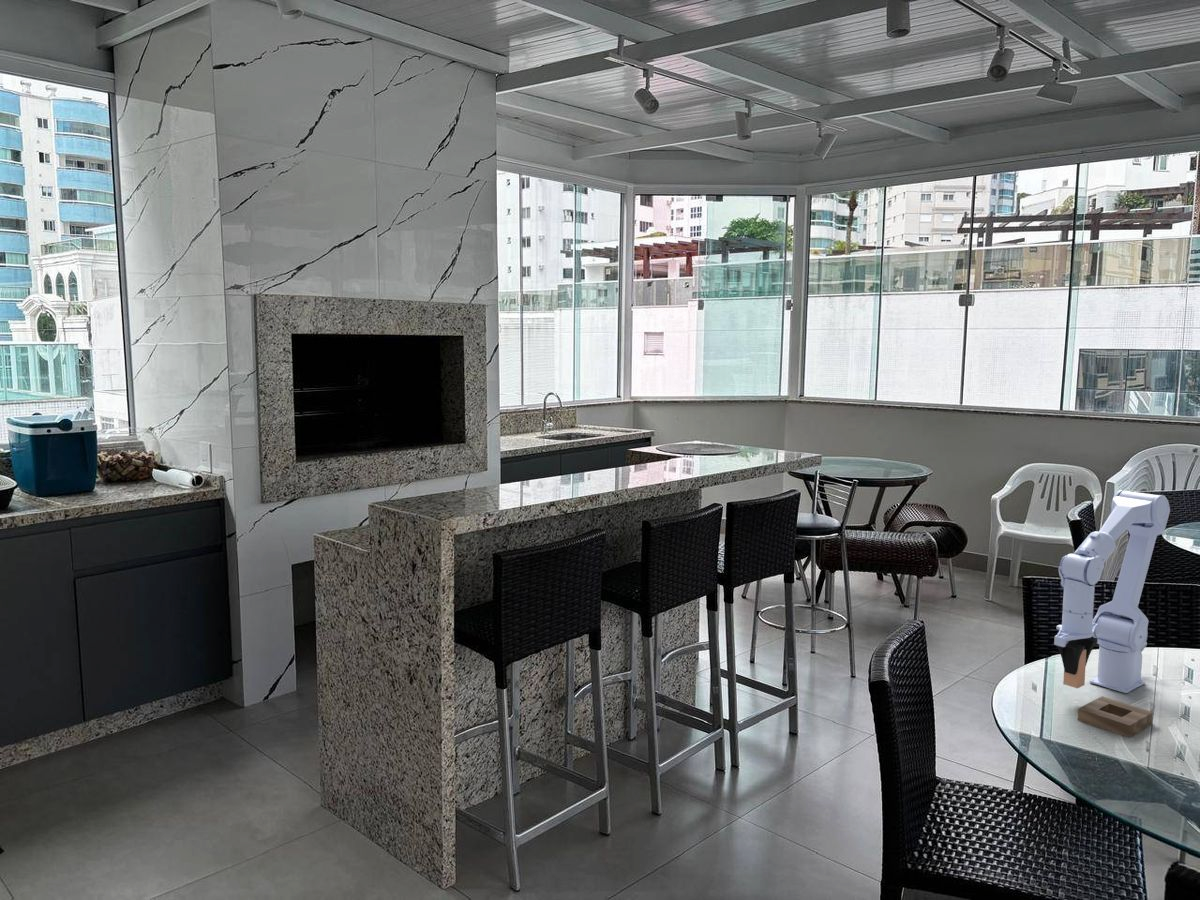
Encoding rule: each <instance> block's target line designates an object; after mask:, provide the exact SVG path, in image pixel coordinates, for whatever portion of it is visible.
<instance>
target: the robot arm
mask: <svg viewBox="0 0 1200 900" xmlns="http://www.w3.org/2000/svg"><path fill="white" fill-rule="evenodd" d="M1110 505H1111V507H1110V508H1111V512H1110V514H1109V516H1108V517H1107V519H1106V520H1105V522H1104V523H1103V525H1102V526H1101V527H1100V529H1099V531H1092V532H1090V533H1089V534H1088V535H1087V537H1086V538H1085V539H1084V540H1083V541H1082V543H1081V544H1080V545H1079V546H1078V547H1077V549H1076V550H1075V551H1074V552H1073V553H1068V554H1066V555H1064V556H1063V557H1062V558H1061V560H1060V561H1059V562H1060V563H1059V567H1058V574H1059V578H1060V582H1061V583H1060V585H1061V587H1062V588H1063V597H1062V598H1063V599H1062V614H1061V615H1062V617H1061V618H1062V619H1061V620H1062V621H1061V624H1058V625H1056V630H1057V631H1058V632H1057V634H1056V635H1054V642H1053V644H1054V645H1055V646H1056V648H1057V649H1058V652H1059V654H1060V656H1061V661H1062V665H1063V669H1064V670H1065V672H1066V673H1070V674H1073V675H1075V674H1076V672H1077V669H1078V664H1079V659H1080V656H1081V653H1082V651H1083V650H1084V649H1086V665H1087V663H1088V661H1089V659H1090V655H1091V653H1092V651H1093V649H1094V648H1095V646H1096V645H1099V648H1098V649H1099V650H1098V664H1097V676H1096V677H1093V678H1092V679H1089V683H1090V684H1094V685H1098V686H1101V687H1103V688H1107V689H1110V690H1113V691H1117V692H1120V693H1123V694H1128V693H1130V692H1131V691H1134V690H1135V689H1137V688H1139V687H1141V686H1142V685H1144V684H1145V683H1146V681H1145V680H1142V665H1143V654H1142V652H1141V651H1140V649H1141V648H1142V647H1143V646H1144V645H1145V643H1146V642H1147V640H1148V626H1149V619H1148V618H1147V616H1146V615H1145V614H1144V612H1142V610H1141V609H1140V608H1139V604H1140V601H1141V600H1140V599H1141V596H1142V592H1143V589H1144V584H1145V581H1146V578H1147V574H1148V570H1149V567H1150V564H1151V563H1150V562H1151V559H1152V555H1153V551H1154V548H1155V544H1156V540H1157V538H1158V536H1160V535H1163V534H1164V533H1165V529H1166V527H1167V523H1168V520H1169V515H1170V513H1171V507H1170V503H1169V500H1168V499H1167V497H1166V496H1165V495H1164V494H1153V493H1152V494H1151V493H1144V492H1138V491H1137V492H1136V491H1129V490H1125V489H1120V490H1118V491H1117V492H1116V493H1115V494H1114V496H1113V498H1112V499H1111V504H1110ZM1126 530H1127V531H1128V533H1129V538H1128V542H1127V545H1126V549H1125V553H1124V556H1123V560H1122V564H1121V567H1120V571H1119V572H1120V573H1119V575H1118V579H1117V581H1116V582H1117V583H1116V587H1115V589H1114V593H1113V597H1112V600H1110V601H1109V602H1106V603H1104V604H1101V605H1100V606H1099V607H1098V609H1097V612H1096V614H1095V616H1094V603H1095V602H1094V601H1095V585H1096V584H1097V583H1098V582H1099V581H1100V579H1101V577H1102V573H1103V570H1104V568H1105V565H1104V564H1105V563H1106V561H1107V560H1108V559H1109V558H1110V556H1111V555H1112V554H1113V553H1114V552H1115V551H1116V547H1117V544H1116V542H1115V541H1117V540H1118V539H1119V538H1120V537H1121V536H1122V534H1124V532H1126ZM1064 670H1063V671H1064Z"/></svg>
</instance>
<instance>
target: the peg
mask: <svg viewBox="0 0 1200 900" xmlns="http://www.w3.org/2000/svg"><path fill="white" fill-rule="evenodd" d="M1086 666H1087V664H1086V649H1084V650H1083V651H1082V653H1081V656H1080V659H1079V664H1078V669H1077V672H1076V674H1075V675H1073V674H1070V673H1066V672H1065V670H1063V682H1062V683H1063V685H1065V686H1069V687H1071V688H1074V689H1080V688H1081V687H1083V686H1085V682H1086V681H1085V679H1086Z"/></svg>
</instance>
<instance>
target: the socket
mask: <svg viewBox="0 0 1200 900" xmlns="http://www.w3.org/2000/svg"><path fill="white" fill-rule="evenodd" d="M1153 718H1154V712H1153V711H1151V710H1147V709H1144V708H1141V707H1138V706H1135V705H1132V704H1128V703H1126V702H1122V701H1120V700H1119V701H1118V700H1115V699H1113V698H1109V697H1105V696H1103V695H1101V696H1099V697H1098V698H1095V699H1094V700H1091V701H1090V702H1087V703H1086V704H1084V705H1082V706H1080V707H1078V709H1077V721H1079V720H1080V721H1079V722H1082V723H1085V724H1089V725H1091V726H1095V727H1097V726H1098V728H1100V729H1103V730H1106V731H1109V732H1112V733H1114V732H1115V733H1114V734H1117V733H1118V735H1120V734H1121V736H1123V735H1124V736H1123V737H1126V736H1127V738H1130V736H1131V737H1133V736H1134V735H1136V734H1138V733H1139V732H1141V731H1143V730H1144V729H1146V728H1148V727H1149V725H1150V726H1151V725H1153ZM1147 726H1148V727H1147ZM1142 729H1143V730H1142ZM1140 730H1141V731H1140ZM1137 732H1138V733H1137ZM1132 735H1133V736H1132Z"/></svg>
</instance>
